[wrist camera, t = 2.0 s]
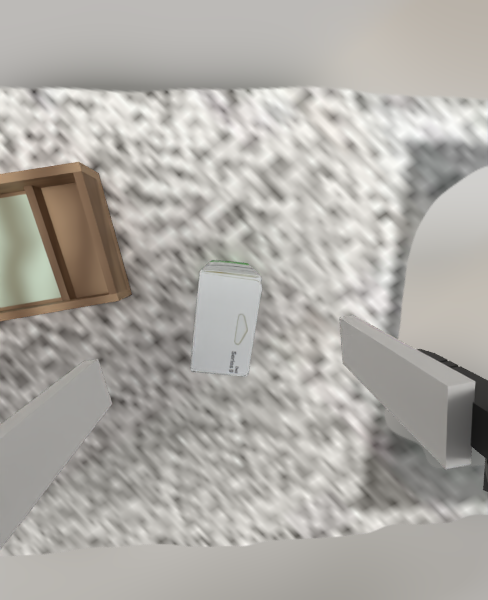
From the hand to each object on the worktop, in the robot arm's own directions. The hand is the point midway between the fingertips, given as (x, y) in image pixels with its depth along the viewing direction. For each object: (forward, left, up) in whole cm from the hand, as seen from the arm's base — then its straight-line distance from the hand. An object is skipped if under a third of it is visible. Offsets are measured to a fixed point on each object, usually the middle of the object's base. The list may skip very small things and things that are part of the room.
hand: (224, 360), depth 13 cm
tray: (-22, +9, -17) cm, 29 cm away
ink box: (0, 0, -17) cm, 17 cm away
